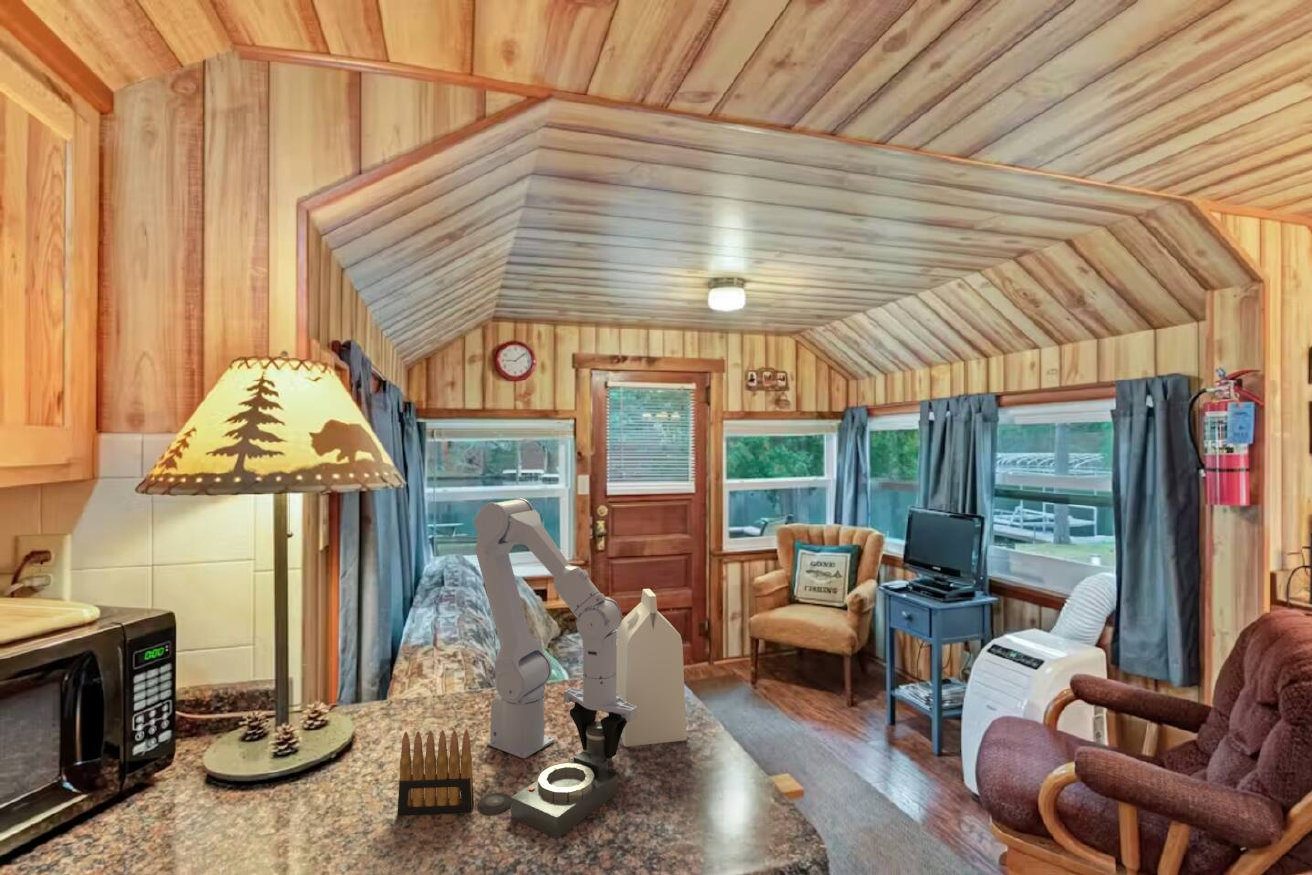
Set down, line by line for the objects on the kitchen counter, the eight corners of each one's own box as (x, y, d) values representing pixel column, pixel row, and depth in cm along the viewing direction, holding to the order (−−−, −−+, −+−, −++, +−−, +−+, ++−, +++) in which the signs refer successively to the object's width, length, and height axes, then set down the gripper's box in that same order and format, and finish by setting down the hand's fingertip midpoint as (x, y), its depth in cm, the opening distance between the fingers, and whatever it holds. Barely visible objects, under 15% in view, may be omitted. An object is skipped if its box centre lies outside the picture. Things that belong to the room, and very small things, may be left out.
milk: (686, 740, 120) (687, 598, 119) (624, 746, 117) (625, 602, 117) (670, 712, 131) (670, 583, 131) (613, 718, 129) (614, 586, 128)
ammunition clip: (474, 805, 98) (474, 726, 98) (471, 813, 96) (471, 732, 96) (401, 808, 97) (401, 728, 97) (397, 816, 96) (397, 734, 96)
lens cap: (470, 809, 98) (470, 803, 98) (495, 794, 102) (495, 787, 102) (493, 820, 95) (493, 813, 95) (518, 804, 99) (518, 798, 99)
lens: (580, 763, 111) (580, 728, 111) (597, 752, 115) (597, 718, 115) (601, 771, 108) (601, 735, 108) (618, 759, 112) (618, 724, 112)
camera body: (511, 817, 95) (511, 786, 95) (574, 775, 107) (574, 747, 107) (556, 838, 90) (557, 805, 90) (618, 792, 102) (618, 763, 102)
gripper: (647, 674, 111) (647, 754, 111) (582, 657, 119) (582, 732, 119) (623, 687, 105) (622, 771, 105) (555, 669, 113) (555, 747, 113)
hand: (599, 751), depth 112 cm, fingers closed on lens, 4 cm apart
